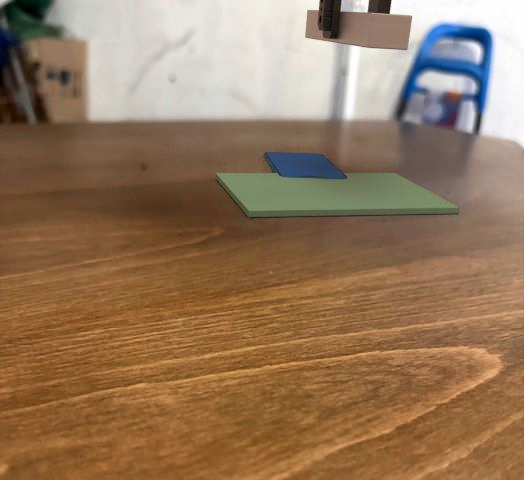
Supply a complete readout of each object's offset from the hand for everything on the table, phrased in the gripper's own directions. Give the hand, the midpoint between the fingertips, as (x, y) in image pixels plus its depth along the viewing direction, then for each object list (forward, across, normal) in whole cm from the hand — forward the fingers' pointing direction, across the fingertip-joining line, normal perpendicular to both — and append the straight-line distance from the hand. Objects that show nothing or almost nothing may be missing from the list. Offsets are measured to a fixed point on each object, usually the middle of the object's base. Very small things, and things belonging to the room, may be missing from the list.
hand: (351, 38), depth 60 cm
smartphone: (+14, 0, +11) cm, 18 cm away
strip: (0, 0, 0) cm, 0 cm away
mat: (+14, -1, -1) cm, 14 cm away
